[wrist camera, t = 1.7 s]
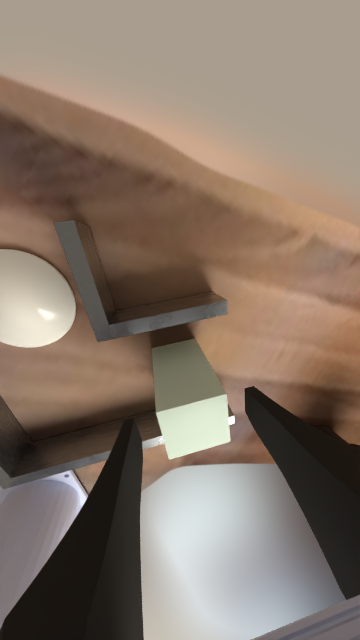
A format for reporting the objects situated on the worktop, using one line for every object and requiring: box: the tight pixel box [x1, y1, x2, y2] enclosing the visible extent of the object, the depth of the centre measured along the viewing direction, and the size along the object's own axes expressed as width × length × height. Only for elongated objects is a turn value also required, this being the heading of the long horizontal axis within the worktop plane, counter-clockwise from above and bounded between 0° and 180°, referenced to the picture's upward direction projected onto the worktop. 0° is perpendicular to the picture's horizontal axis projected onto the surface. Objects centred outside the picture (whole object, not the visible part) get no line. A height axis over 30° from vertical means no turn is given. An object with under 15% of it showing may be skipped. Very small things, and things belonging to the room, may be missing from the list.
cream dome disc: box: [0, 249, 76, 347], centre depth 13 cm, size 7×7×1 cm
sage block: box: [152, 338, 230, 460], centre depth 14 cm, size 4×4×7 cm
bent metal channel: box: [0, 220, 235, 489], centre depth 14 cm, size 18×20×3 cm
